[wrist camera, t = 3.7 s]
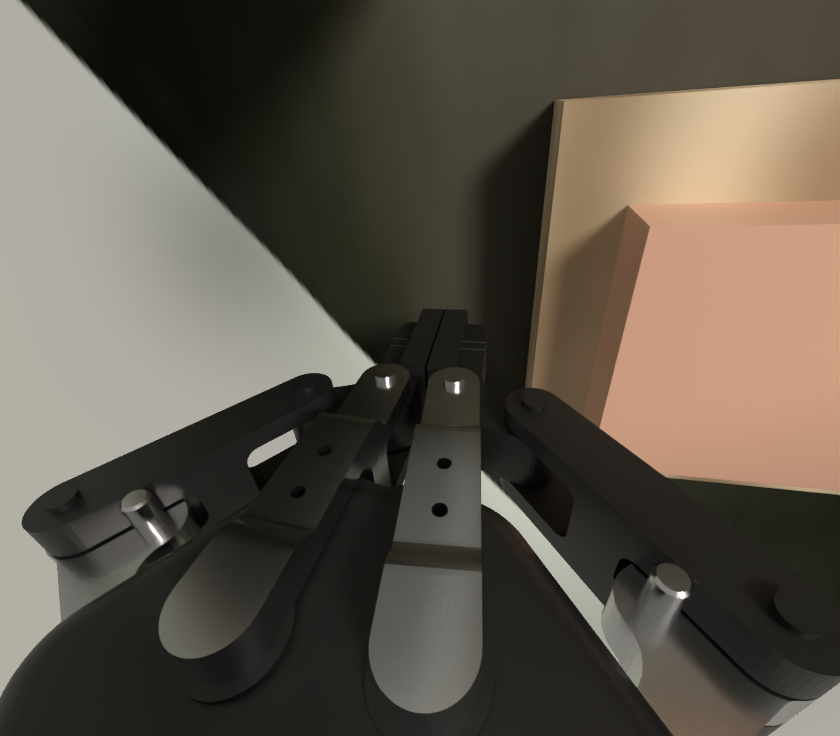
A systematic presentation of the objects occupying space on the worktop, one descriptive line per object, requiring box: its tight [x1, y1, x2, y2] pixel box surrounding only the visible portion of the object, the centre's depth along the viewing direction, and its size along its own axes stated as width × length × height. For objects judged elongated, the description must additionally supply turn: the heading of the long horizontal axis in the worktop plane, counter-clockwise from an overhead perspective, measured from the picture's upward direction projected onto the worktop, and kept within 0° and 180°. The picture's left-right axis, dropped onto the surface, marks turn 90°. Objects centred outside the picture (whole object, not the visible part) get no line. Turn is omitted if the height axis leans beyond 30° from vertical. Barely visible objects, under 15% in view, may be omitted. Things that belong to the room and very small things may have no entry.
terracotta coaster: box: [583, 200, 840, 491], centre depth 11 cm, size 8×8×2 cm
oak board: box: [525, 79, 840, 495], centre depth 13 cm, size 15×13×3 cm
